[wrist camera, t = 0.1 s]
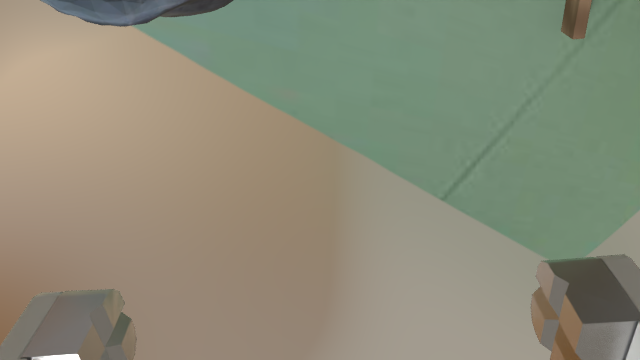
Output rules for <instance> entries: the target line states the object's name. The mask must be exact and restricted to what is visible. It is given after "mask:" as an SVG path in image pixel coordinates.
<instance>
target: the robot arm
mask: <svg viewBox="0 0 640 360" xmlns="http://www.w3.org/2000/svg"><path fill="white" fill-rule="evenodd" d="M536 278H537V280H538V282H539V284H540V287H539V288H538V289H537V290H536V291H535V292H534V293H533V294H532V301H531V315H532V323H533V326H534V330H535V332H536V335H537V337H538V340H539V342H540V343H541V344H542V345H543V346H545V347H546V348H548V349H549V350H550V351H552V353H551V357H550V360H640V269H639V268H638V267H637V265H636V264H635V263H634V261H633V260H632V259H631V258H630V257H628V256H626V255H624V254H622V255H610V256H597V257H588V258H574V259H560V260H547V261H541V262H540V264H539V265H538V268H537V273H536ZM124 304H125V302H124V300H123V298H122V296H121V294H120V292H119V291H117V290H114V289H107V290H82V291H65V292H45V293H40V294H38V295H36V296H34V297H33V298H32V300H31V301H30V303H29V304H28V306H27V307H26V309H25V310H24V312H23V313H22V315H21V316H20V317H19V319H18V321H17V322H16V323H15V325H14V326H13V328H12V329H11V331H10V332H9V334H8V335H7V337H6V338H5V340H4V341H3V343H2V344H1V346H0V360H133V358H134V355H135V350H136V340H137V339H136V331H135V327H134V324H133V322H132V319H131V318H129V317H128V316H126V315H125V314H123V313H122V312H121V311H122V309H123V306H124Z"/></svg>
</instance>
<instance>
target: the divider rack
mask: <svg viewBox="0 0 640 360" xmlns="http://www.w3.org/2000/svg"><path fill="white" fill-rule="evenodd" d="M591 2H592V0H566V4H565V10H564V16H563V22H562V28H561V32H563V33H564V34H566V35H567V36H569V37H570V38H572V39H582V38H585V33H586V28H587V23H588V18H589V12H590V7H591Z"/></svg>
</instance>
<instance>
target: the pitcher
mask: <svg viewBox="0 0 640 360" xmlns="http://www.w3.org/2000/svg"><path fill="white" fill-rule="evenodd" d="M41 1H43V2H44V3H46V4H48V5H50V6H51V7H53V8H54V9H56V10H57V11H58V12H61V13H64V14H67V15H72V16H77V17H79V18H80V19H82V20H84V21H87V22H90V23H94V24H99V25H113V26H131V25H137V24H144V23H148V22H150V21H152V20H153V19H155V18H157V17H159V16H161V17H179V16H191V15H196V14H202V13H207V12H212V11H214V10H217V9H219V8H222V7H224V6H226V5H228V4H229V3H230V2H232V1H233V0H41Z"/></svg>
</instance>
